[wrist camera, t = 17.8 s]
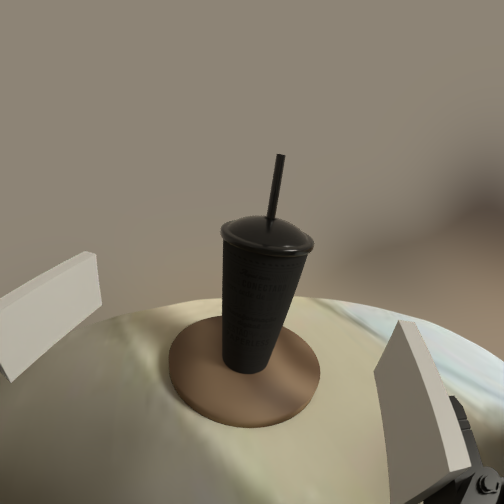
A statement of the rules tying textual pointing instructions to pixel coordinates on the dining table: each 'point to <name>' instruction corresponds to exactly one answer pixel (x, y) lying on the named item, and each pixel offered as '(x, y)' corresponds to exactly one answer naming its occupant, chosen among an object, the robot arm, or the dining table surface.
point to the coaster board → (242, 378)
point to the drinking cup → (259, 281)
